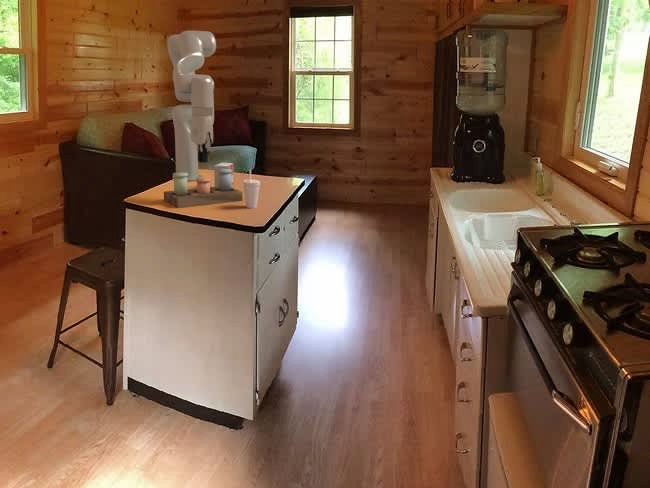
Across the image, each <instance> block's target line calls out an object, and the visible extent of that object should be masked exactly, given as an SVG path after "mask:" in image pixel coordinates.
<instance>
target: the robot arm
mask: <svg viewBox="0 0 650 488" xmlns="http://www.w3.org/2000/svg"><path fill="white" fill-rule="evenodd" d="M216 41H217V40H216V38H215V36H214V34H213V33H212V32H210V31H206V30H184V31H182V32H180V34H173V35H169V37H168V38H167V52H168V54H169V59H170V61H171V63H172V66H173V71H172V81H173V86H174V94H175V98H176V100H178V101H180V102H191V104H179V105H176V106H174V107H173V109H172V112H171V114H172V121H173V127H174V139H175V140H174V143H175V144H174V145H175V173H176V172H185V173H188V176H187V182H196V178H200V177H203V175H202V174H199V163H200V164H201V163H207V162H208V161H209V158H208V154H209V153H208V152H209V149H210V148H211V145H212V144H213V143H214V127H213V125H214V122H215V105H214V104H215V101H214V99H215V98H214V89H215V82H214V79H212V77H211V76H210V75H208V74H196V72H195V71H197V70H199V69H201V68H202V67H203V65H204V63H205V58H209V57H210V56H212V55H214V54H215V52H216V49H217V42H216ZM172 179H173V180H174V176H173V175H172Z"/></svg>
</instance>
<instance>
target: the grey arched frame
mask: <svg viewBox="0 0 650 488" xmlns="http://www.w3.org/2000/svg"><path fill="white" fill-rule="evenodd" d="M234 164H235V163H232V162H220V163H217V164H215V165H214V168H213V169H214V170H213V171H214V187H216V186H219V173H218V169H231V170H232V173H231V188H234V187H235V185H234V184H235V182H234V180H235V175H234V173H235V172H234V171H235V165H234ZM234 189H235V188H234Z"/></svg>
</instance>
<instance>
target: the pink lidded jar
mask: <svg viewBox="0 0 650 488" xmlns="http://www.w3.org/2000/svg"><path fill="white" fill-rule="evenodd" d="M211 179H212V178H210V177H206V176H204V177H203V176H202V177H200V178H196V180H195V182H196V188H197V193H198V194H206V193H210V187H211Z"/></svg>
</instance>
